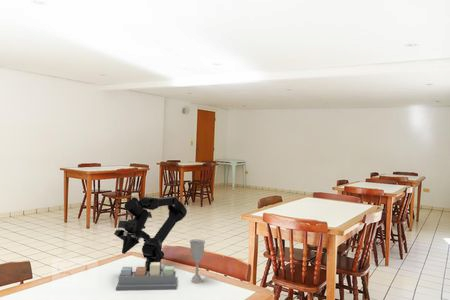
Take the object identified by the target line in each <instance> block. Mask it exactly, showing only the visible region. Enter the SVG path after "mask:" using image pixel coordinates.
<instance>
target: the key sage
mask: <svg viewBox="0 0 450 300" xmlns="http://www.w3.org/2000/svg"><path fill="white" fill-rule="evenodd" d="M163 271H164V276H168V275H174V271H175V265H173V266H172V265H171V266H166V265H165V266H164V269H163Z"/></svg>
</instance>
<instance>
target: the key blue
mask: <svg viewBox="0 0 450 300" xmlns="http://www.w3.org/2000/svg"><path fill="white" fill-rule="evenodd" d="M132 272H133V266H122V268H121V270H120V274H121V276H132Z"/></svg>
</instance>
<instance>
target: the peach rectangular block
mask: <svg viewBox="0 0 450 300" xmlns="http://www.w3.org/2000/svg"><path fill="white" fill-rule="evenodd" d="M135 272H136V276H146V272H147V271H146V267H145V266H136V268H135Z"/></svg>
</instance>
